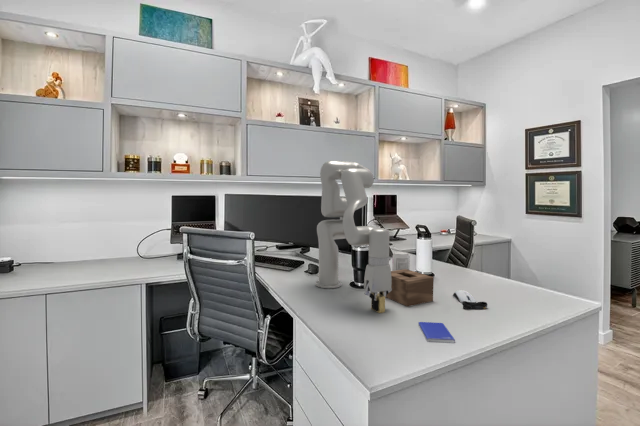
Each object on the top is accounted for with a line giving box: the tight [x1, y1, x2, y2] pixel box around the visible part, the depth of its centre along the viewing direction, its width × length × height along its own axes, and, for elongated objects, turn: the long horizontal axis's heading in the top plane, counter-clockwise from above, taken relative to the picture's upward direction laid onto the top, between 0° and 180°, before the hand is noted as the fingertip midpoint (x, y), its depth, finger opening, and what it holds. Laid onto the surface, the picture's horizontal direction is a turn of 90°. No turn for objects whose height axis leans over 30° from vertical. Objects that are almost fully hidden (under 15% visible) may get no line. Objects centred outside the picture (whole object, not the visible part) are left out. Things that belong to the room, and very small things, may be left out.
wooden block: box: [370, 292, 386, 314], centre depth 120 cm, size 5×2×6 cm, turn 28°
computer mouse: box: [452, 289, 488, 310], centre depth 130 cm, size 10×18×4 cm, turn 1°
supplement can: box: [391, 251, 411, 271], centre depth 158 cm, size 8×8×15 cm
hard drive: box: [417, 321, 456, 344], centre depth 101 cm, size 2×8×12 cm
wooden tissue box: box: [386, 269, 435, 307], centre depth 134 cm, size 16×14×10 cm
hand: (378, 308), depth 120 cm, fingers closed on wooden block, 2 cm apart
